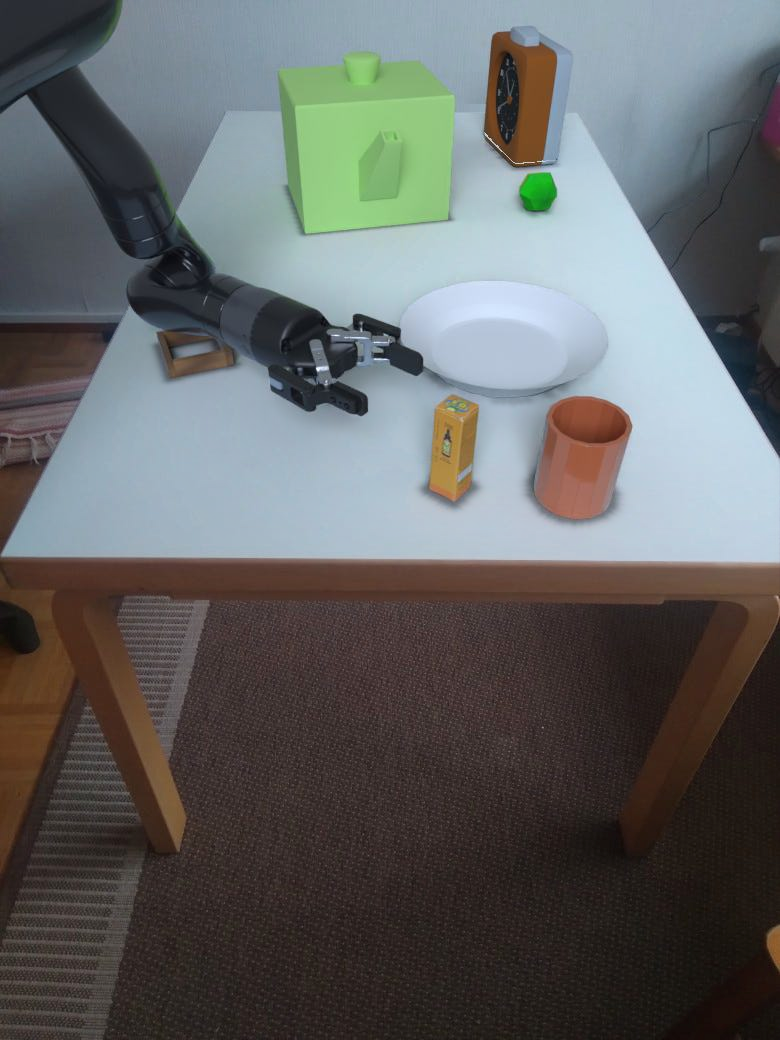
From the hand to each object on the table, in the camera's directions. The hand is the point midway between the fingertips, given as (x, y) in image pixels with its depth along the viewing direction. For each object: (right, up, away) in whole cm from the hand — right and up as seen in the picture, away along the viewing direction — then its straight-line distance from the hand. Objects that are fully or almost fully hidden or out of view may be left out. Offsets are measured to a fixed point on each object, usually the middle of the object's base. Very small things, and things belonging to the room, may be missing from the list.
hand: (394, 385), depth 70 cm
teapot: (-4, +41, +54) cm, 68 cm away
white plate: (+13, +7, +21) cm, 26 cm away
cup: (+18, -10, +3) cm, 21 cm away
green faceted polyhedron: (+24, +40, +54) cm, 71 cm away
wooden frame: (-25, +8, +21) cm, 33 cm away
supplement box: (+6, -10, +4) cm, 12 cm away
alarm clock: (+25, +59, +73) cm, 97 cm away
